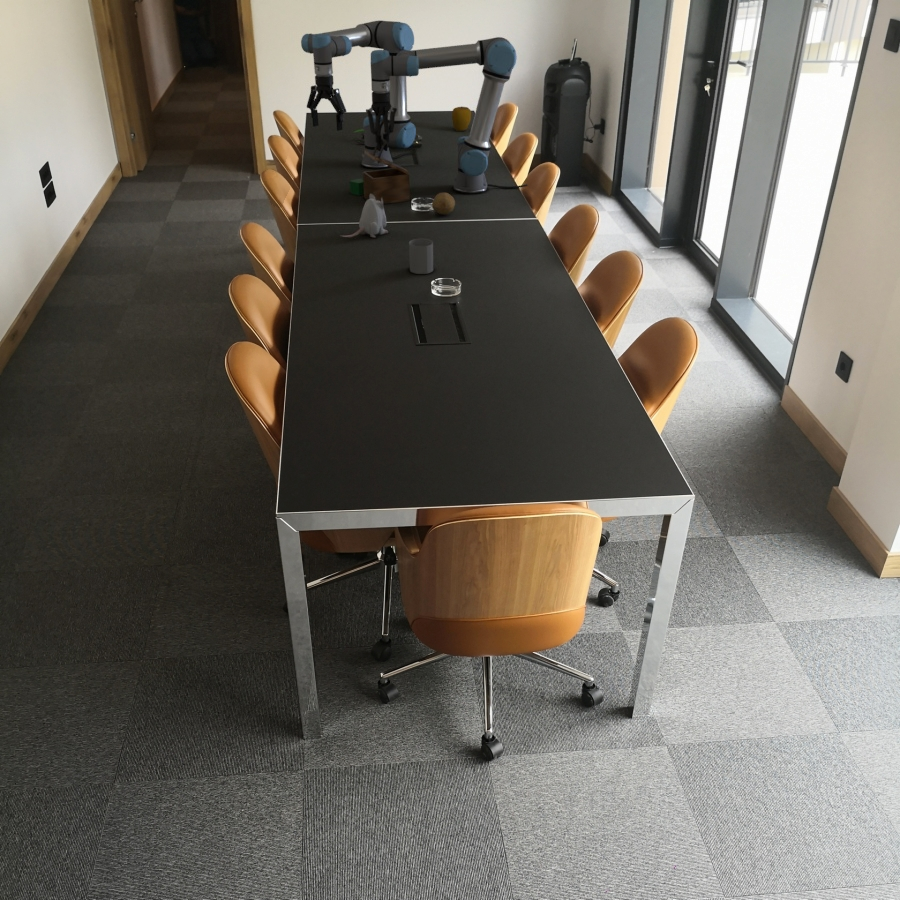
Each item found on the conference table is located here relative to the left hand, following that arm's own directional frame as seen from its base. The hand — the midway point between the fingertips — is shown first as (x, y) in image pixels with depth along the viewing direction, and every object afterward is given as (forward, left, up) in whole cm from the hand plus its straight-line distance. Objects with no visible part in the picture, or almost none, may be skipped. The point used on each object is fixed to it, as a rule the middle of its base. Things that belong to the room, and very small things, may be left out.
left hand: (327, 128), depth 372 cm
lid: (-7, +26, -13) cm, 30 cm away
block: (-7, +10, -28) cm, 30 cm away
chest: (-7, +25, -28) cm, 38 cm away
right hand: (-6, +25, -7) cm, 27 cm away
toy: (+39, +50, -28) cm, 69 cm away
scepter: (-87, -41, -28) cm, 100 cm away
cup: (+54, +88, -28) cm, 107 cm away
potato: (-4, +58, -28) cm, 64 cm away
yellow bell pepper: (-134, -20, -28) cm, 139 cm away
